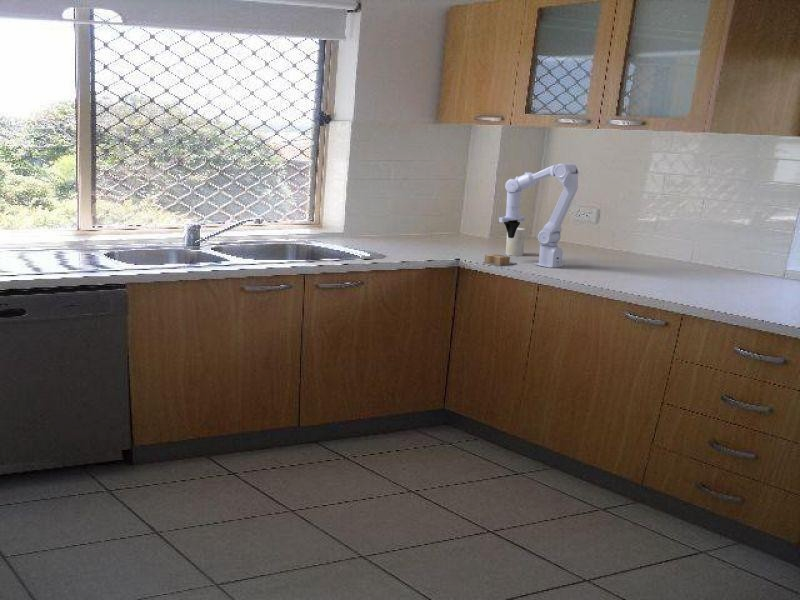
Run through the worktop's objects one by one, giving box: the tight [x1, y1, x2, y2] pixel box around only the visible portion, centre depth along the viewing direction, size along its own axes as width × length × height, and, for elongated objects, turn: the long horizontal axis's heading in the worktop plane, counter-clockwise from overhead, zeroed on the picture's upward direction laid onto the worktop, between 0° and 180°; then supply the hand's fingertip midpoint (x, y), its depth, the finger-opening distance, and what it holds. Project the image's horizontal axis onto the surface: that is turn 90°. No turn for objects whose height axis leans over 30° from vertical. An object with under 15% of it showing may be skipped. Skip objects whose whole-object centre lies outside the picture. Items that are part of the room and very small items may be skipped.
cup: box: [505, 227, 526, 257], centre depth 388 cm, size 8×8×12 cm
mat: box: [481, 261, 518, 267], centre depth 363 cm, size 10×11×1 cm
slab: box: [484, 253, 511, 265], centre depth 362 cm, size 9×3×6 cm
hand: (511, 237), depth 371 cm, fingers closed
